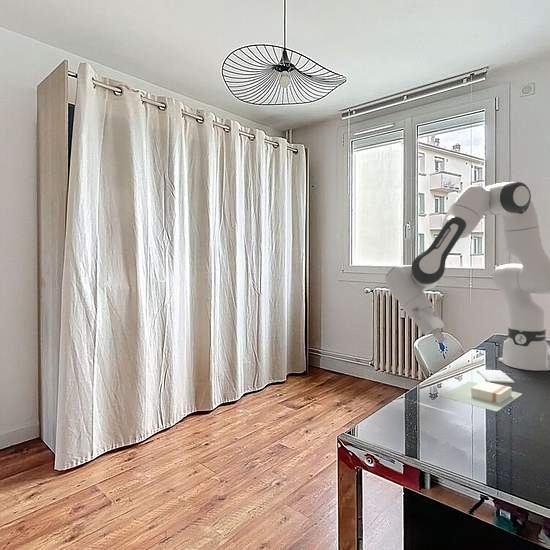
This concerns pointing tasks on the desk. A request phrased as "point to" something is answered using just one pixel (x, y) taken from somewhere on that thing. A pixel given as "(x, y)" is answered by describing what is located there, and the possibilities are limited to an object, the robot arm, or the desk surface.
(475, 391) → the card box
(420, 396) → the desk surface
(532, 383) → the desk surface
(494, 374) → the external hard drive
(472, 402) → the mat
